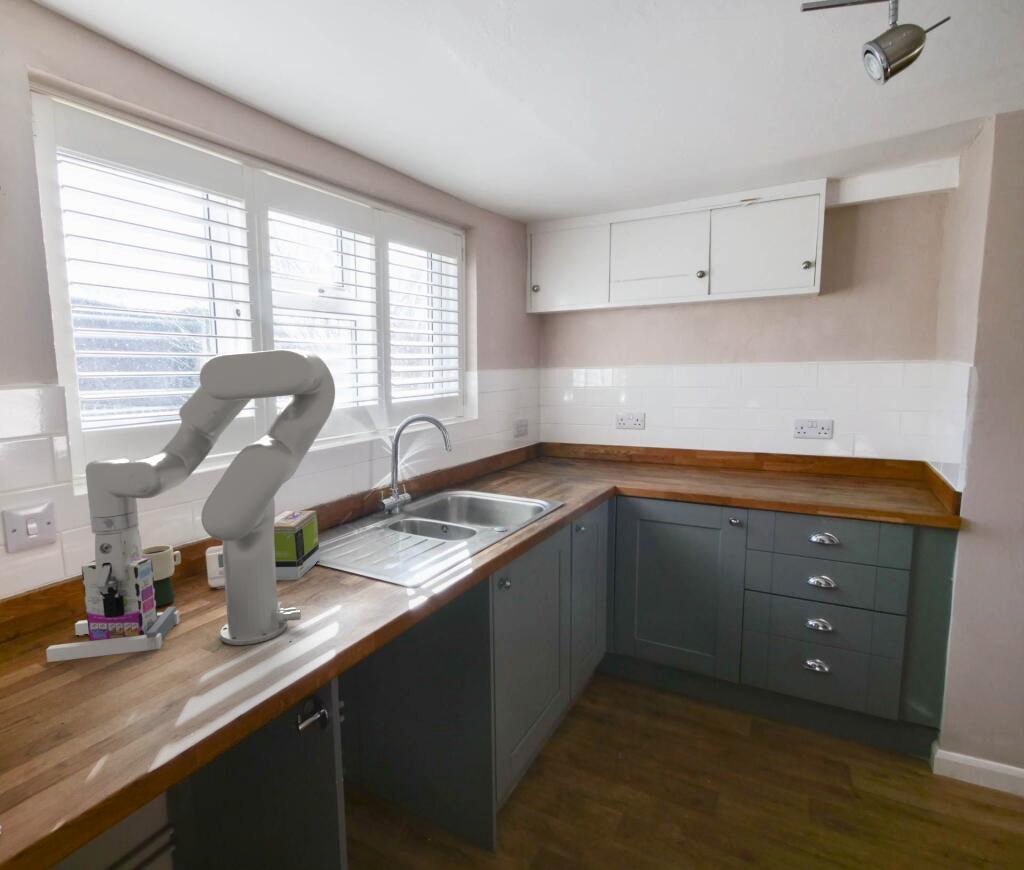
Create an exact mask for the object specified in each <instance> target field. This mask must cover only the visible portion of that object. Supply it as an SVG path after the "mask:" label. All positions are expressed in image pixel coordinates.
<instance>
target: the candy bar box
mask: <svg viewBox="0 0 1024 870" xmlns="http://www.w3.org/2000/svg"><path fill="white" fill-rule="evenodd" d="M128 570H129V580H128V581H127V582H122V586H121V594H120V596H121V595H123V602H124V612H125V614H124V615H123V616H120V617H111V618H105V616H104V607H103V599H102V598H101V593H100V590H99V589H98V587H97V584H98V579H97V574H96V563H95V560H92V561H90V562H88V563H86V564H83V565H81V574H82V575H81V576H82V584H83V592H84V594H83V595H84V603H85V611H86V612H85V613H86V620H87V622H88V631H89V634H88V639H89V641H96V640H105V639H113V638H122V637H131V636H140V635H146V633H147V632H148V630H149V629H150V628H151V627H152V626H153V624H154V623H155V622H156V621H157V613H158V611H157V606H156V600H155V588H154V578H153V568H152V558H137V559H135V560H134V561H133V562H132V563H131V564H129V565H128ZM115 580H117V579H116V578H112V579H110V580H109V581H115ZM110 587H113V588H114V589H115V588H116V585H110Z"/></svg>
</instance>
